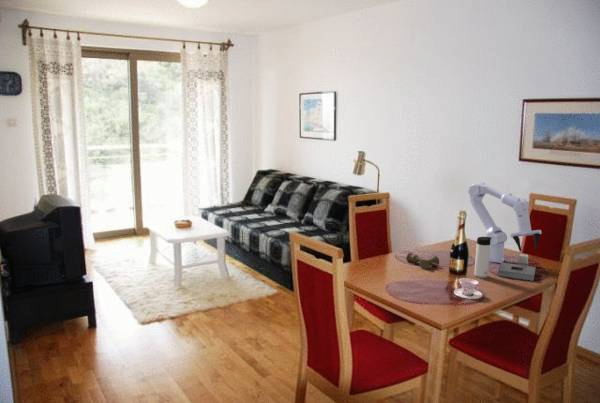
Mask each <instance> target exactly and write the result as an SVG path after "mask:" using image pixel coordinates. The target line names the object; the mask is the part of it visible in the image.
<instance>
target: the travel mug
mask: <svg viewBox="0 0 600 403" xmlns="http://www.w3.org/2000/svg"><path fill="white" fill-rule="evenodd" d="M491 239H492V238H491V237H487V236H479V237H477V239H476V247H475V248H476V250H475V260H474V261H475V262H474V270H473V271H474V273H473V274H474V277H475V278H477V279H487V278H488V277H489V276H488V275H489V265H490V261H489V255H490V242H491Z"/></svg>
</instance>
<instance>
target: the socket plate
mask: <svg viewBox="0 0 600 403" xmlns="http://www.w3.org/2000/svg"><path fill="white" fill-rule="evenodd" d="M499 264H500V265H499V267H498V269H497V276H498V277H504V278H508V277H509V278H510V279H516V280H521V279H522V280H521V281H523V280H524V281H528V280H529V281H530V282H535V281H534V279H535V275H536V266H529V265H527V266H523V265H519V264H517V263H515V264H514V263H509V262H503V263H502V262H501V263H499ZM529 281H528V282H529Z"/></svg>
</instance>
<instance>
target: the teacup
mask: <svg viewBox="0 0 600 403" xmlns="http://www.w3.org/2000/svg"><path fill="white" fill-rule="evenodd" d="M458 282H459V283H460V286H461V288H456V289H455V290H453V293H454V295H455V296H457V297H460V298H463V299H469V300H476V299H480V298H482V297H483V293H482V292H480V291H479V288H480V285H479V281H478V280H475V279H473V278H468V277H462V278H459V279H458ZM476 287H477V289H475V288H476Z"/></svg>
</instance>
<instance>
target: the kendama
mask: <svg viewBox="0 0 600 403" xmlns="http://www.w3.org/2000/svg"><path fill="white" fill-rule="evenodd" d="M405 260H406V261H407V262H408V263H410V262H413V264H414V263H415V264H416V263H419V267H420V268H421V269H422V270H425V271H426V270H428V269H429V267H430V266H432V267H434V268H436V267H439V266H440V259H439V257H438V256H437V255H435V254H434V255H430V257H429V258H428V259H426V258H421V257H419V255H418V254H414V253H412V252H408V253H407V255H406V257H405Z"/></svg>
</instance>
